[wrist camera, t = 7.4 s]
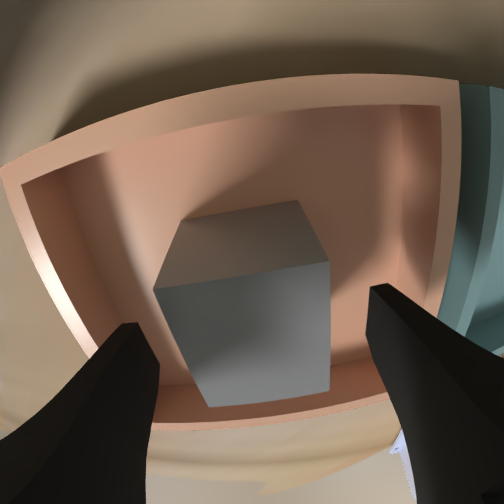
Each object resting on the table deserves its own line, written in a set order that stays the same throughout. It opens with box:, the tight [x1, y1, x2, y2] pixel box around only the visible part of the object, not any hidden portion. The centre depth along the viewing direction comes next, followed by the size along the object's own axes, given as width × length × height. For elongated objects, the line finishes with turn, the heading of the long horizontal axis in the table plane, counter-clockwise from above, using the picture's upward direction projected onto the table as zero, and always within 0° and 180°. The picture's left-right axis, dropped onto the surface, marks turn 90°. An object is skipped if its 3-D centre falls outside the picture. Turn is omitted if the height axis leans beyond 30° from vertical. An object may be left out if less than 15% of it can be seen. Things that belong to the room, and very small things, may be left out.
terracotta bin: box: [0, 74, 461, 430], centre depth 11 cm, size 14×14×3 cm
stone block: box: [153, 200, 331, 407], centre depth 9 cm, size 5×4×4 cm
